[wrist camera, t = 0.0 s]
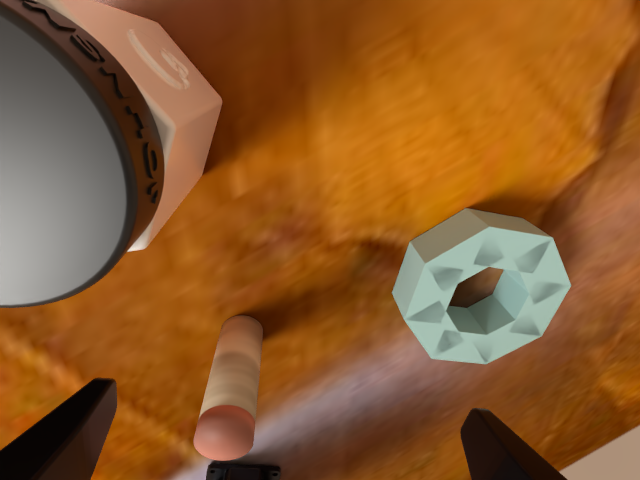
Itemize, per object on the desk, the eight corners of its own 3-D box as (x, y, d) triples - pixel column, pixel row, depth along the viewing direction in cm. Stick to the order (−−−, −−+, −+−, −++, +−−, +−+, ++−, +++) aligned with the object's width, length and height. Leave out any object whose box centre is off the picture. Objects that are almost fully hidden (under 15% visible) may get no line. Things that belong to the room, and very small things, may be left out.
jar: (254, 130, 20) (218, 205, 9) (153, 217, 22) (23, 364, 11) (123, -27, 17) (-176, -196, 6) (14, 90, 18) (-375, 125, 8)
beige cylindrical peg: (260, 350, 27) (249, 461, 19) (219, 345, 26) (191, 459, 19) (265, 317, 26) (257, 424, 18) (223, 312, 25) (195, 420, 18)
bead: (500, 339, 29) (522, 368, 26) (380, 325, 27) (391, 354, 24) (561, 225, 24) (594, 244, 22) (423, 200, 23) (442, 218, 20)
